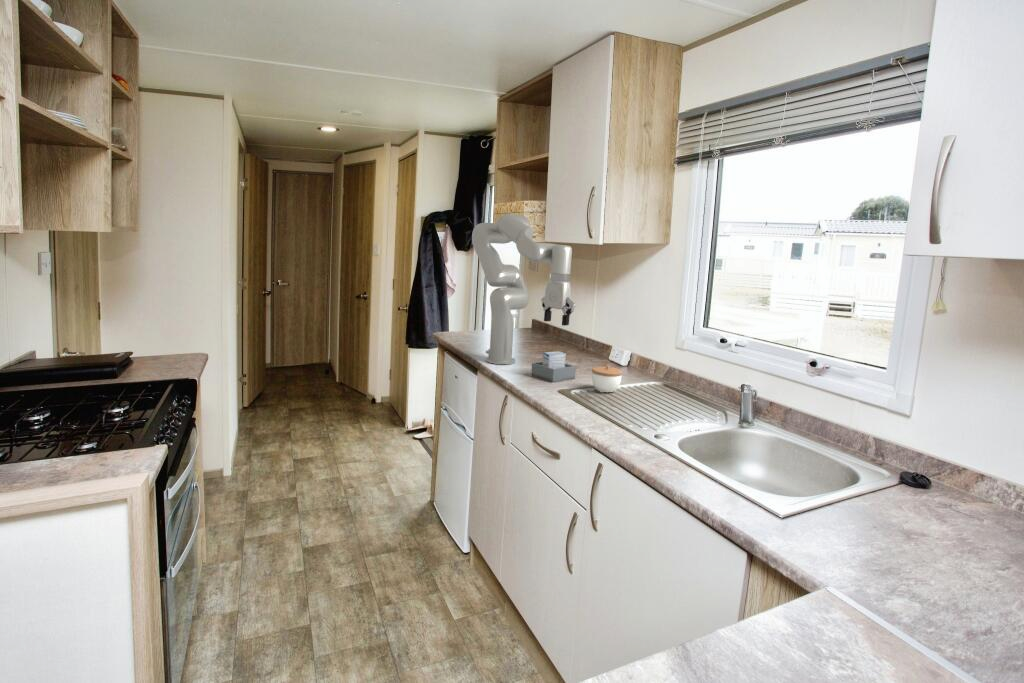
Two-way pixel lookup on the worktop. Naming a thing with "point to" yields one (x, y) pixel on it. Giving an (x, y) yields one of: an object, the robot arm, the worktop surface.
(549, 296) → the robot arm
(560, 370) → the bin
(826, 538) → the worktop surface
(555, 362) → the medicine box
